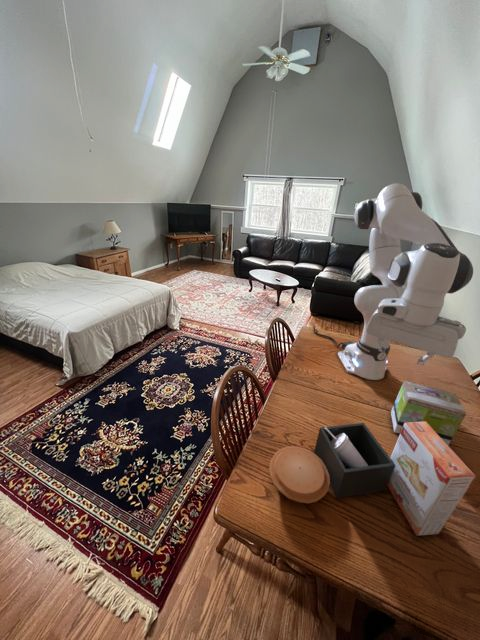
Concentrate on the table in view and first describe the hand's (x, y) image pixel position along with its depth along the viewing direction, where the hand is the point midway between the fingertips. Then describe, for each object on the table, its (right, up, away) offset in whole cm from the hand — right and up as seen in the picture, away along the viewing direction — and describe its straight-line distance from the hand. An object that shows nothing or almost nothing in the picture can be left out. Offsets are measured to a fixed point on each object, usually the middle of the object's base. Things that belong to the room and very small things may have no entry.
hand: (400, 357), depth 73 cm
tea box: (+15, -26, +16) cm, 34 cm away
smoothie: (-11, -30, -2) cm, 32 cm away
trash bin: (-14, -31, +1) cm, 35 cm away
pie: (-29, -33, -2) cm, 43 cm away
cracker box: (-2, -36, -6) cm, 37 cm away
